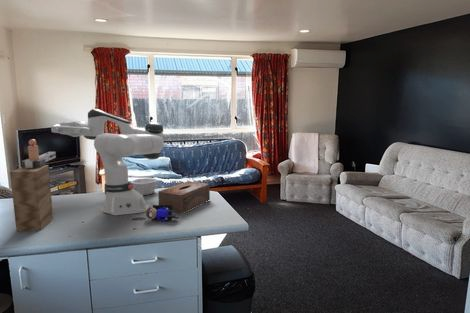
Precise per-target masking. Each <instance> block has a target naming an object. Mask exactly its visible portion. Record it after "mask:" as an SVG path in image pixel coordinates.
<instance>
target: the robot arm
mask: <svg viewBox="0 0 470 313" xmlns="http://www.w3.org/2000/svg"><path fill="white" fill-rule="evenodd" d="M106 121H108V122H112V123H115V124H116V125H117V126H118V128H119V130H120V134H119V133H109V132H107V133H106V132H105V124H106ZM51 133H55V134H56V133H57V134H60V135H64V136H65V135H66V136H69V137H73V138H76V137H82V136H83V137H84V138H85V139H86V140H91V141H92V140H94V141H93V147H94V149H95V150H96V151H97V154H98V155H99V157H100V159H101V162H102V165H103V170H104V182H105V183H104V187H103V188H104V195H105V198H104V199H105V201H104V208H103V212H104V213H106V214H108V215H109V214H110V215H112V216H121V215H122V216H123V215H132V214H139V213H140V214H141V213H146V211H147V210H148V209H149V208H150V204H149V203H147V202H145V197H144V195H142V194H140V193H138V192H137V191H135V190H134V189H133V184H132V183H131V182H130V181H129V170H128V166H127V164H126V163H125V161H124V160H123V158H127V157H132V156H138V155H139V156H141V155H142V156H143V157H144V158H145V159H147V160H157V159H159V158H160V156H161V154H162V152H161V151H162V150H163V149H164V145H165V142H164V138H163V137H164V127H163V125H162V124H161V123H159V122H156V121H151V122H147V123H146V124H145V127H144V128H143V127H137V126H134V125H133V124H132V123H131V121H130V120H128V119H127V118H123V117H120V116H118V115H114V114H111V113H108V112H106V111H104V110H101V109H99V108H91V109H90V110H89V111H88V112H87V121H84V120H81V121H78V120H77V121H71V122H60V123H58V124H53V125H51Z"/></svg>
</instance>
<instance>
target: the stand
mask: <svg viewBox="0 0 470 313" xmlns="http://www.w3.org/2000/svg"><path fill="white" fill-rule="evenodd" d="M27 160H29V158H26V159H23V160H22V161H20V164H21V166H20V167H19V168H16V169H14V170H11V171H10V172H9V174H10V176H9V177H10V183H11V184H10V185H11V192H12V193H11V194H12V203H13V212H14V220H15V230H16V231H15V232H26V231H29V232H30V231H42V230H43V229H44V228H45V227H46V226H47V225H48V224H49V223H51V222H52V221H53V220H54V213H53V203H52V202H53V201H52V190H51V189H52V188H51V178H50V167H49V164H47V162H46V161H45V159H39V160H37V161H35V165H36V167H34V168H25V161H27Z"/></svg>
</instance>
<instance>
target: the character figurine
mask: <svg viewBox="0 0 470 313" xmlns="http://www.w3.org/2000/svg"><path fill="white" fill-rule="evenodd" d="M175 210H179V208H172V205H159V204H152V207H149V209H148V210H147V211H146V212H145V215H146V217H147V219H149V220H153V221H154V220H156V221H160V222H161V223H163V222H165V221H167V220H168V221H172V219H180V218H179V216H176V215H174V214H173V212H176V211H175Z"/></svg>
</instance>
